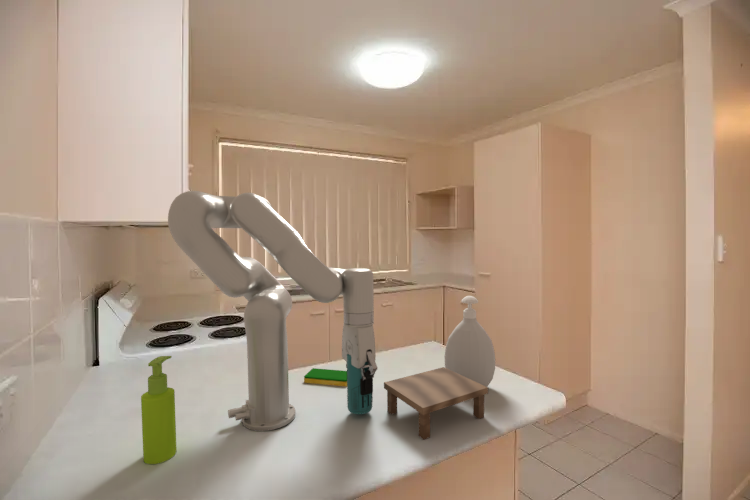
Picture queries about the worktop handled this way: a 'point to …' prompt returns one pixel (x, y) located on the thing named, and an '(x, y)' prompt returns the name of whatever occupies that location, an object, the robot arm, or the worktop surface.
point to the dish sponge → (326, 377)
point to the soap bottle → (470, 348)
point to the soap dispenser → (158, 416)
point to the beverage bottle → (356, 390)
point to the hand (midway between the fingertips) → (359, 387)
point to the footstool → (434, 394)
